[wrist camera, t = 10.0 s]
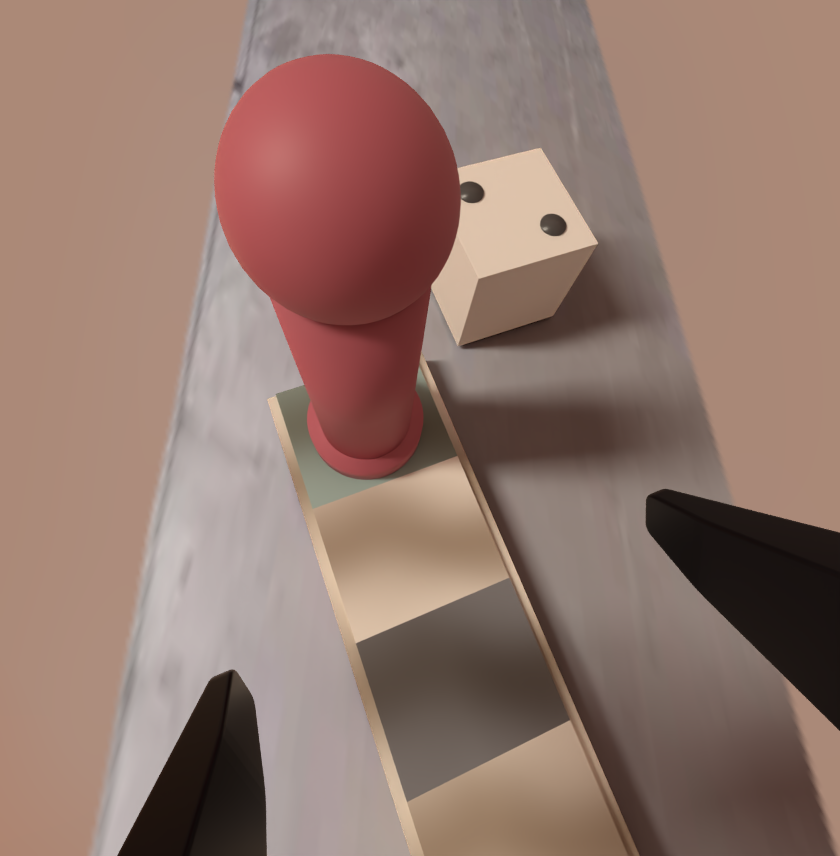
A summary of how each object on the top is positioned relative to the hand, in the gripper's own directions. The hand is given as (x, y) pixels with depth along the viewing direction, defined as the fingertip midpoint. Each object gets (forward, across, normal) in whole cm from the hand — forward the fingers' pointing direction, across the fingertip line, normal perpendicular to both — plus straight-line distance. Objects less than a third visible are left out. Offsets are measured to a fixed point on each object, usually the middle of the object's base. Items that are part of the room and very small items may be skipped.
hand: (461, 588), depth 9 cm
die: (+15, -8, -2) cm, 17 cm away
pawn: (+10, 0, +1) cm, 10 cm away
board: (+4, 0, +9) cm, 10 cm away
